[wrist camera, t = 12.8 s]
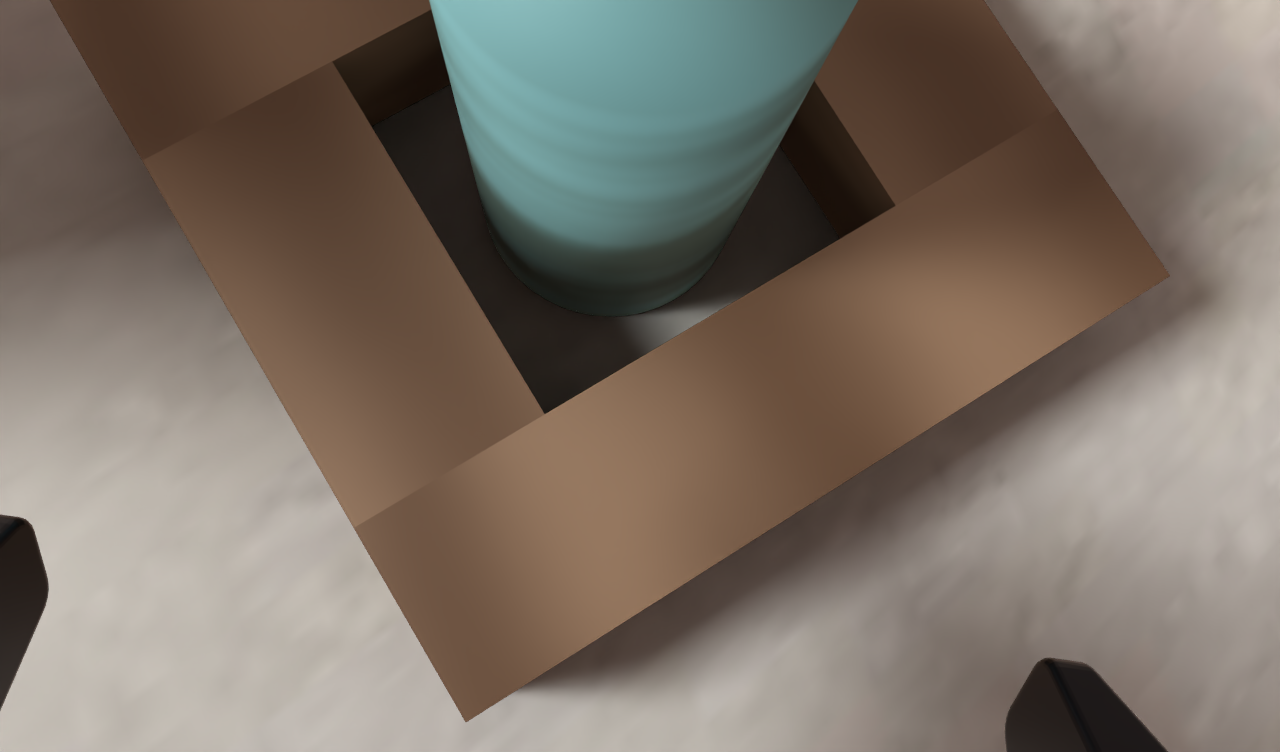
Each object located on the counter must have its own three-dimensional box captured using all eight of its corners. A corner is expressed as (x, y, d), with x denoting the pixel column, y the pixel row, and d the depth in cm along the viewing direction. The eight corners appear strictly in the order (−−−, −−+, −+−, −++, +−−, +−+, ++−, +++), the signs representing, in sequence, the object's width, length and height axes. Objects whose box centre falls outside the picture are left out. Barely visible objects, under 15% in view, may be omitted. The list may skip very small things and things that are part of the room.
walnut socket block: (480, 693, 19) (465, 722, 16) (118, 66, 20) (42, -14, 17) (1085, 312, 21) (1169, 275, 18) (718, -239, 22) (742, -357, 19)
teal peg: (679, 355, 20) (786, 187, 10) (442, 258, 20) (324, -3, 10) (769, 131, 21) (947, -221, 11) (541, 37, 21) (520, -398, 11)
